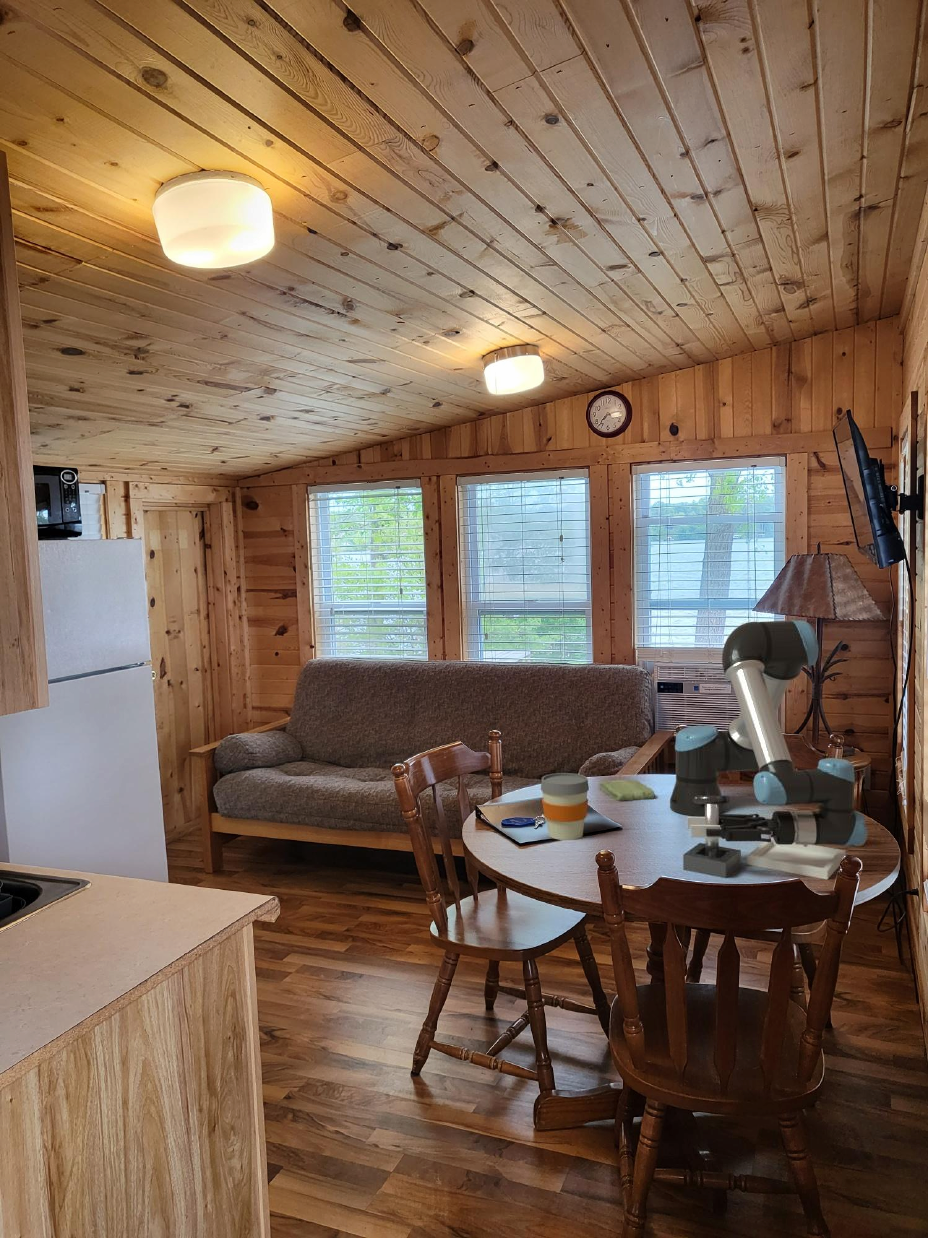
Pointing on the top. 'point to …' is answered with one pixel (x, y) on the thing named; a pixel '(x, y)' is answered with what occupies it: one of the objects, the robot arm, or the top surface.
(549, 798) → the reusable coffee cup
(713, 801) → the chuck key
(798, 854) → the tray
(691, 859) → the chuck socket block
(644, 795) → the washcloth
